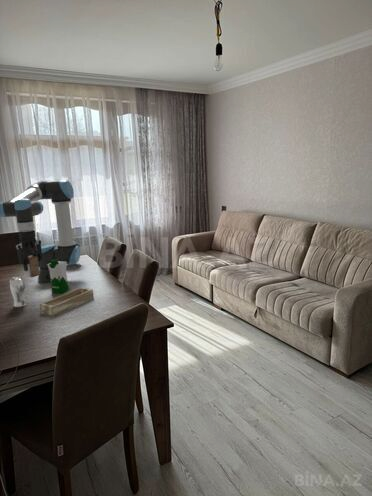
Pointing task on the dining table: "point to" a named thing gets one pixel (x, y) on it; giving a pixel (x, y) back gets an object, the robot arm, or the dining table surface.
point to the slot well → (66, 301)
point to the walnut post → (33, 265)
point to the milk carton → (58, 277)
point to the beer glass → (18, 291)
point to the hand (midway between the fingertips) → (33, 275)
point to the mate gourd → (73, 264)
